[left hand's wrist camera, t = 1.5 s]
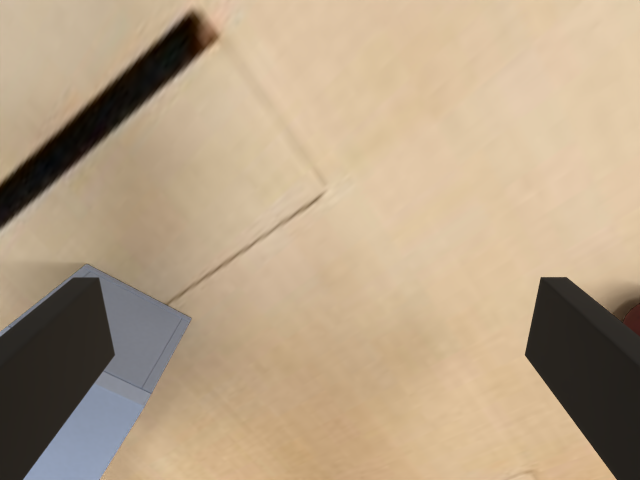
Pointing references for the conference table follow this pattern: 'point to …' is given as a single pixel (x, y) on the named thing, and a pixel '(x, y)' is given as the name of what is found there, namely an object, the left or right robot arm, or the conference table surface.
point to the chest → (134, 330)
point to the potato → (633, 319)
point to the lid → (91, 431)
